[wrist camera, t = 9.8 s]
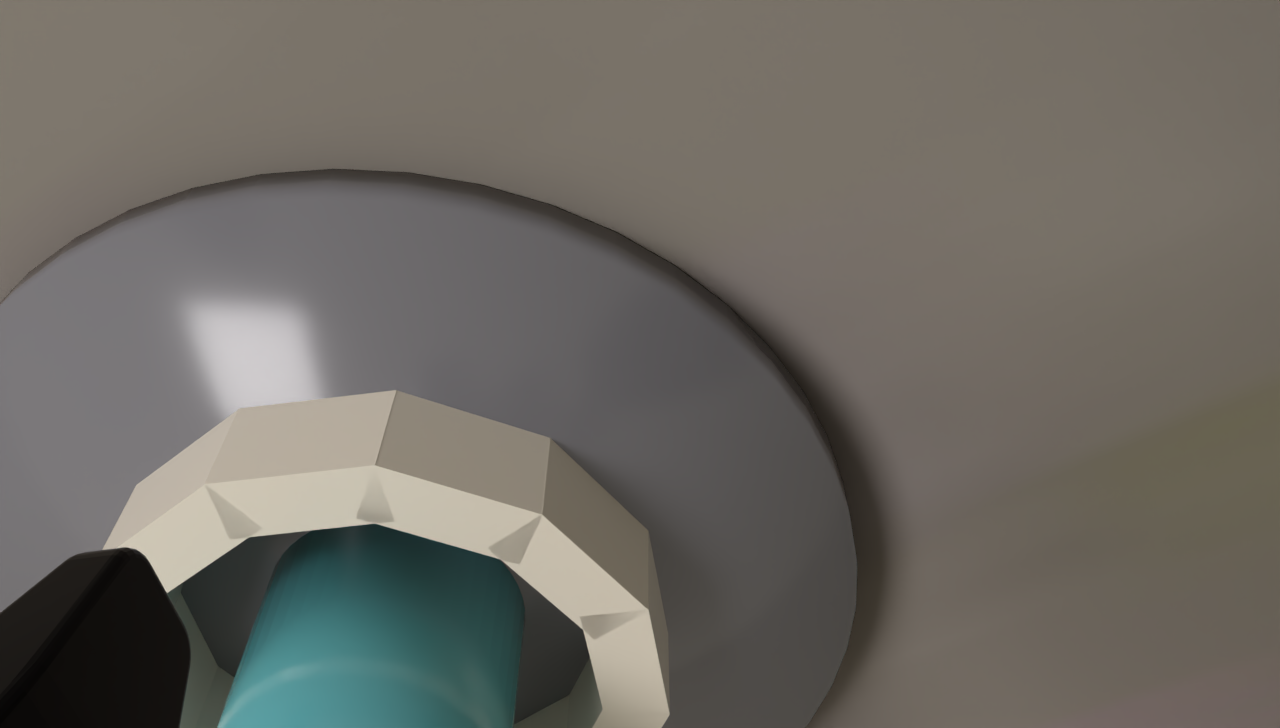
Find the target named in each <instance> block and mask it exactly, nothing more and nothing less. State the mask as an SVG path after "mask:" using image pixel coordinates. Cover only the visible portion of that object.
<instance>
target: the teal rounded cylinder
mask: <svg viewBox="0 0 1280 728" xmlns="http://www.w3.org/2000/svg"><path fill="white" fill-rule="evenodd" d="M524 627H525V606H524V601H523V597H522V594H521V591H520V589H519V586H518V584H517V582H516V581H515V579H514V577H513V576H512V574H511V573H510V571H509V570H508V569H507V568H506V566H505V565H504V564H503V563H502V562H501V561H500V560H499V559H497V558H494V557H490V556H487V555H483V554H480V553H476V552H473V551H469V550H466V549H462V548H459V547H455V546H452V545H448V544H445V543H441V542H438V541H434V540H431V539H427V538H424V537H420V536H417V535H413V534H410V533H406V532H403V531H399V530H396V529H392V528H389V527H385V526H382V525H378V524H366V525H357V526H348V527H339V528H329V529H320V530H312V531H310V532H309V533H307V534H305V535H304V536H302V537H301V538H299V539H298V540H297V541H296V542H294V543H293V544H292V545H291V546H290V547H289V548H288V549H287V550H286V551H285V552H284V553H283V554H282V556H281V557H280V559H279V560H278V562H277V564H276V565H275V567H274V570H273V572H272V575H271V577H270V580H269V583H268V586H267V588H266V591H265V594H264V597H263V600H262V602H261V605H260V608H259V611H258V614H257V616H256V619H255V622H254V625H253V628H252V630H251V633H250V636H249V639H248V642H247V644H246V647H245V650H244V653H243V656H242V658H241V661H240V664H239V667H238V670H237V672H236V675H235V678H234V681H233V684H232V686H231V689H230V692H229V695H228V698H227V700H226V703H225V706H224V709H223V712H222V714H221V717H220V720H219V723H218V726H217V728H513V727H514V718H515V709H516V700H517V691H518V682H519V673H520V664H521V655H522V646H523V637H524Z"/></svg>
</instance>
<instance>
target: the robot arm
mask: <svg viewBox="0 0 1280 728" xmlns="http://www.w3.org/2000/svg"><path fill="white" fill-rule="evenodd" d="M190 664H191V647H190V640H189V636H188V633H187V630H186V628H185V625H184V623H183V621H182V620H181V618H180V616H179V614H178V612H177V611H176V609H175V607H174V605H173V603H172V602H171V600H170V598H169V596H168V594H167V592H166V591H165V589H164V587H163V585H162V583H161V582H160V580H159V578H158V576H157V574H156V573H155V571H154V569H153V567H152V565H151V564H150V562H149V561H148V559H147V558H146V556H145V555H143V554H142V553H141V552H140V551H138V550H136V549H133V548H128V547H122V548H114V549H106V550H98V551H90V552H84V553H80V554H76V555H74V556H72V557H70V558H68V559H67V560H66V561H64V562H63V563H62V564H61V565H59V566H58V567H57V568H56V569H54V570H53V571H52V572H51V573H49V574H48V575H47V576H46V577H44V578H43V579H42V580H41V581H39V582H38V583H37V584H36V585H34V586H33V587H32V588H31V589H29V590H28V591H27V592H26V593H24V594H23V595H22V596H21V597H19V598H18V599H17V600H16V601H14V602H13V603H12V604H11V605H9V606H8V607H7V608H6V609H4V610H3V611H2V612H1V613H0V728H180V723H181V717H182V711H183V706H184V700H185V694H186V688H187V683H188V677H189V671H190Z"/></svg>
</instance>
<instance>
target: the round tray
mask: <svg viewBox="0 0 1280 728" xmlns="http://www.w3.org/2000/svg"><path fill="white" fill-rule="evenodd" d="M366 524H378V525H382V526H385V527H389V528H392V529H396V530H399V531H403V532H406V533H410V534H413V535H417V536H420V537H424V538H427V539H431V540H434V541H438V542H441V543H445V544H448V545H452V546H455V547H459V548H462V549H466V550H469V551H473V552H476V553H480V554H483V555H487V556H490V557H494V558H497V559H499V560H500V561H501V562H502V563H503V564H504V565H505V566H506V568H507V569H508V570H509V571H510V573H511V574H512V576H513V577H514V579H515V581H516V582H517V584H518V586H519V589H520V591H521V594H522V597H523V601H524V606H525V627H524V637H523V646H522V655H521V664H520V673H519V682H518V691H517V700H516V709H515V718H514V727H513V728H805V727H806V726H807V725H808V723H809V722H810V721H811V719H812V717H813V716H814V714H815V713H816V711H817V709H818V708H819V706H820V704H821V703H822V701H823V700H824V698H825V696H826V695H827V693H828V692H829V690H830V688H831V687H832V684H833V682H834V679H835V677H836V674H837V672H838V670H839V667H840V665H841V662H842V660H843V657H844V655H845V652H846V650H847V647H848V642H849V637H850V633H851V628H852V624H853V619H854V614H855V610H856V592H857V558H856V551H855V545H854V538H853V532H852V525H851V519H850V514H849V509H848V504H847V499H846V494H845V489H844V484H843V481H842V478H841V475H840V472H839V469H838V466H837V463H836V460H835V457H834V454H833V451H832V448H831V445H830V442H829V440H828V437H827V435H826V433H825V431H824V429H823V427H822V426H821V424H820V422H819V420H818V418H817V416H816V414H815V413H814V411H813V409H812V407H811V405H810V403H809V401H808V400H807V398H806V396H805V394H804V392H803V391H802V389H801V388H800V387H799V385H798V384H797V383H796V381H795V380H794V379H793V377H792V376H791V375H790V373H789V372H788V371H787V369H786V368H785V367H784V365H783V364H782V363H781V361H780V360H779V359H778V358H777V356H776V355H775V354H774V352H773V351H772V350H771V348H770V347H769V346H768V345H767V344H766V343H765V342H764V341H763V340H762V339H761V338H760V337H759V336H758V335H757V334H756V333H755V332H754V331H753V330H752V329H751V328H750V327H749V326H748V325H747V324H746V323H745V322H744V321H743V320H742V319H741V318H740V317H739V316H738V315H737V314H736V313H735V312H734V311H733V310H732V309H731V308H730V307H729V306H727V305H726V304H725V303H724V302H722V301H721V300H720V299H718V298H717V297H716V296H714V295H713V294H712V293H710V292H709V291H708V290H706V289H705V288H704V287H702V286H701V285H700V284H698V283H697V282H696V281H694V280H693V279H692V278H690V277H689V276H688V275H686V274H685V273H684V272H682V271H681V270H680V269H678V268H677V267H676V266H674V265H673V264H671V263H669V262H667V261H666V260H664V259H662V258H660V257H658V256H657V255H655V254H653V253H651V252H650V251H648V250H646V249H644V248H643V247H641V246H639V245H637V244H636V243H634V242H632V241H630V240H629V239H627V238H625V237H623V236H622V235H620V234H618V233H616V232H614V231H612V230H609V229H607V228H604V227H602V226H600V225H597V224H595V223H593V222H590V221H588V220H585V219H583V218H581V217H578V216H576V215H573V214H571V213H569V212H566V211H564V210H561V209H559V208H557V207H554V206H552V205H549V204H546V203H542V202H539V201H535V200H532V199H528V198H525V197H521V196H518V195H514V194H511V193H507V192H504V191H500V190H497V189H493V188H490V187H486V186H483V185H479V184H473V183H467V182H461V181H455V180H449V179H443V178H437V177H431V176H425V175H419V174H413V173H406V172H385V171H364V170H343V169H327V170H313V171H299V172H285V173H271V174H260V175H255V176H250V177H245V178H240V179H235V180H230V181H225V182H220V183H215V184H210V185H205V186H200V187H195V188H191V189H188V190H186V191H183V192H180V193H177V194H174V195H171V196H168V197H165V198H162V199H160V200H157V201H154V202H151V203H148V204H145V205H142V206H139V207H136V208H133V209H131V210H129V211H127V212H125V213H123V214H121V215H119V216H117V217H115V218H113V219H111V220H109V221H107V222H105V223H104V224H102V225H100V226H98V227H96V228H94V229H92V230H90V231H88V232H86V233H84V234H82V235H80V236H78V237H77V238H75V239H73V240H72V241H71V242H69V243H68V244H67V245H65V246H64V247H63V248H61V249H60V250H59V251H57V252H56V253H55V254H53V255H52V256H51V257H49V258H48V259H46V260H45V261H44V262H42V263H41V264H40V265H38V266H37V267H36V268H34V269H33V270H32V271H30V272H29V273H28V274H27V275H26V276H25V277H24V278H23V279H22V280H21V281H20V282H19V283H18V284H17V285H16V287H15V288H14V289H13V290H12V291H11V292H10V293H9V294H8V295H7V296H6V297H5V298H4V299H3V300H2V301H1V302H0V613H1V612H2V611H3V610H4V609H6V608H7V607H8V606H9V605H11V604H12V603H13V602H14V601H16V600H17V599H18V598H19V597H21V596H22V595H23V594H24V593H26V592H27V591H28V590H29V589H31V588H32V587H33V586H34V585H36V584H37V583H38V582H39V581H41V580H42V579H43V578H44V577H46V576H47V575H48V574H49V573H51V572H52V571H53V570H54V569H56V568H57V567H58V566H59V565H61V564H62V563H63V562H64V561H66V560H67V559H68V558H70V557H72V556H74V555H76V554H80V553H84V552H90V551H98V550H106V549H114V548H122V547H128V548H133V549H136V550H138V551H140V552H141V553H142V554H143V555H145V556H146V558H147V559H148V561H149V562H150V564H151V565H152V567H153V569H154V571H155V573H156V574H157V576H158V578H159V580H160V582H161V583H162V585H163V587H164V589H165V591H166V592H167V594H168V596H169V598H170V600H171V602H172V603H173V605H174V607H175V609H176V611H177V612H178V614H179V616H180V618H181V620H182V621H183V623H184V625H185V628H186V630H187V633H188V636H189V640H190V647H191V664H190V671H189V677H188V683H187V688H186V694H185V700H184V706H183V711H182V717H181V723H180V728H217V726H218V723H219V720H220V717H221V714H222V712H223V709H224V706H225V703H226V700H227V698H228V695H229V692H230V689H231V686H232V684H233V681H234V678H235V675H236V672H237V670H238V667H239V664H240V661H241V658H242V656H243V653H244V650H245V647H246V644H247V642H248V639H249V636H250V633H251V630H252V628H253V625H254V622H255V619H256V616H257V614H258V611H259V608H260V605H261V602H262V600H263V597H264V594H265V591H266V588H267V586H268V583H269V580H270V577H271V575H272V572H273V570H274V567H275V565H276V564H277V562H278V560H279V559H280V557H281V556H282V554H283V553H284V552H285V551H286V550H287V549H288V548H289V547H290V546H291V545H292V544H293V543H294V542H296V541H297V540H298V539H299V538H301V537H302V536H304V535H305V534H307V533H309V532H310V531H312V530H320V529H329V528H339V527H348V526H357V525H366Z"/></svg>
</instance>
